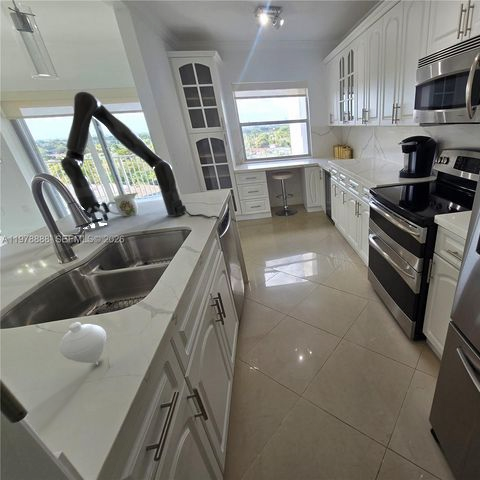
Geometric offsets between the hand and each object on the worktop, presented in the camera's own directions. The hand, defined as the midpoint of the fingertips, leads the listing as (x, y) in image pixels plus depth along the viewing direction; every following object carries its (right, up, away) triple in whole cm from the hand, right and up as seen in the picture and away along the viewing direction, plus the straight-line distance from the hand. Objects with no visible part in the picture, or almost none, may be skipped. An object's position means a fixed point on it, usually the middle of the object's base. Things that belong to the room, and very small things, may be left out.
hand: (97, 223), depth 144 cm
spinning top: (+74, -39, -85) cm, 119 cm away
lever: (-5, +3, +1) cm, 6 cm away
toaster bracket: (-7, -2, +6) cm, 10 cm away
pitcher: (+1, +6, +22) cm, 23 cm away
